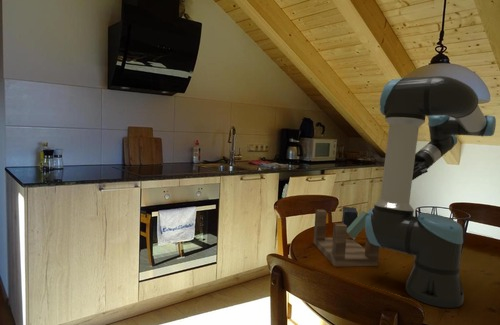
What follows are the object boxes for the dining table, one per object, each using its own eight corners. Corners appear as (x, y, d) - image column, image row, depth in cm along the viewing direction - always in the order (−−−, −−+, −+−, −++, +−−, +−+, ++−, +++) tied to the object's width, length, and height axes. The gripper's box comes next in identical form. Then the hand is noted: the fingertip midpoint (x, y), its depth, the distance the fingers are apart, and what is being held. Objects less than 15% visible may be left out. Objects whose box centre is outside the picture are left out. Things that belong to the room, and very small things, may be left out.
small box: (356, 234, 161) (358, 212, 160) (342, 233, 162) (343, 211, 161) (354, 228, 171) (356, 207, 170) (341, 227, 173) (342, 206, 172)
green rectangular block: (354, 240, 144) (373, 218, 144) (347, 234, 144) (366, 212, 144) (350, 237, 148) (369, 216, 148) (344, 231, 147) (362, 210, 147)
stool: (377, 265, 124) (381, 226, 123) (334, 266, 122) (337, 225, 121) (350, 243, 148) (352, 209, 147) (313, 243, 146) (315, 209, 145)
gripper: (443, 166, 137) (402, 201, 131) (416, 164, 149) (377, 196, 143) (435, 150, 135) (393, 185, 129) (409, 149, 147) (370, 181, 141)
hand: (385, 191), depth 136 cm, fingers closed
